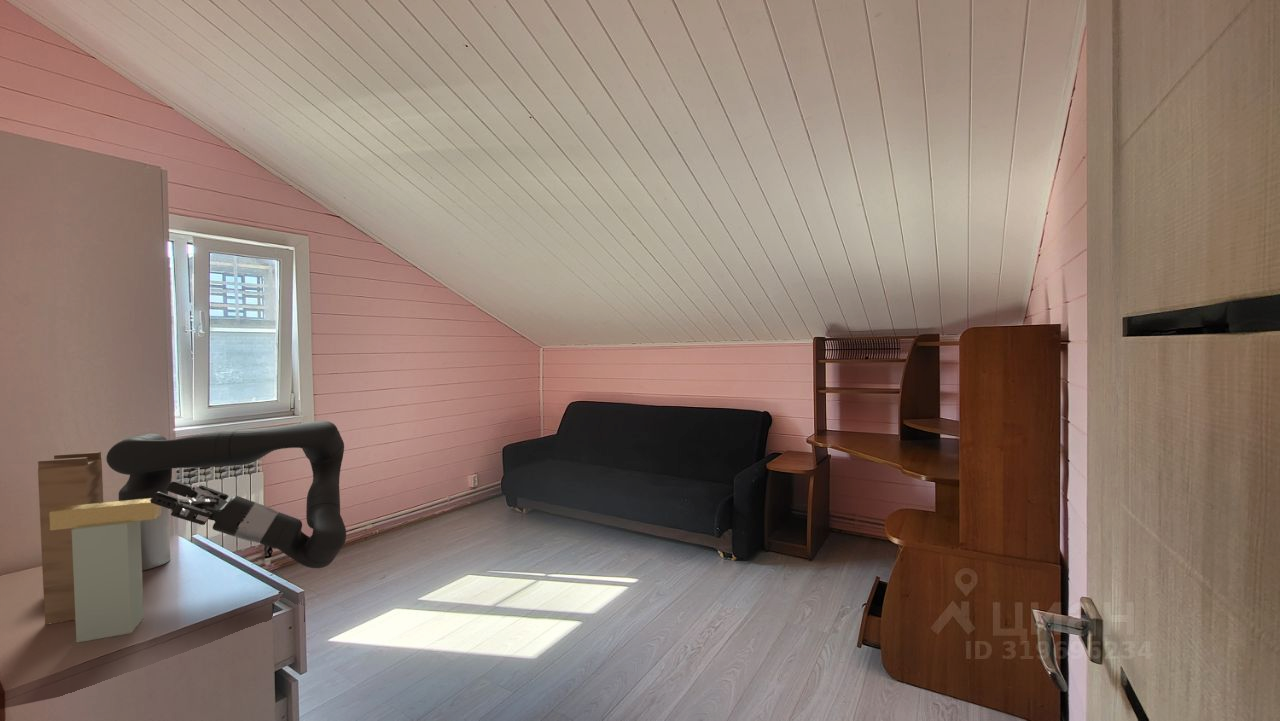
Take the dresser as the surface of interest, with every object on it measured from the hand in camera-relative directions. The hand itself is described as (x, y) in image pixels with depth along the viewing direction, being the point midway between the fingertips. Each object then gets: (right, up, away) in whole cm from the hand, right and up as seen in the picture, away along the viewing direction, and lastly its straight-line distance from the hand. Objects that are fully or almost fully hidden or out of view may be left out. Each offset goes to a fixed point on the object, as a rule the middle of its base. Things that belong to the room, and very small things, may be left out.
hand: (161, 490), depth 109 cm
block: (-8, -27, -2) cm, 29 cm away
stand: (-22, -27, +4) cm, 35 cm away
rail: (-8, -5, -3) cm, 10 cm away
